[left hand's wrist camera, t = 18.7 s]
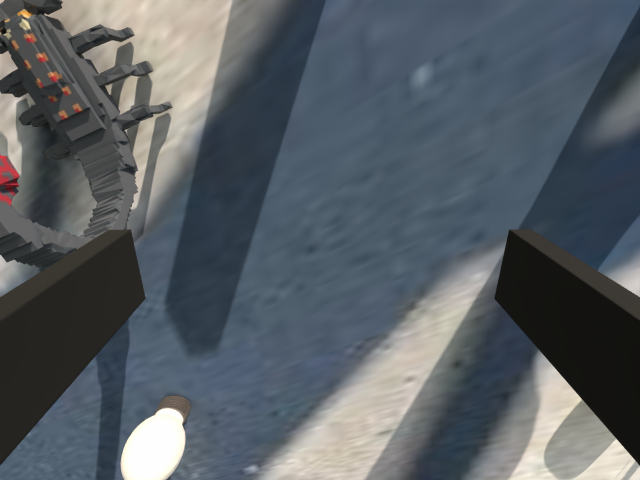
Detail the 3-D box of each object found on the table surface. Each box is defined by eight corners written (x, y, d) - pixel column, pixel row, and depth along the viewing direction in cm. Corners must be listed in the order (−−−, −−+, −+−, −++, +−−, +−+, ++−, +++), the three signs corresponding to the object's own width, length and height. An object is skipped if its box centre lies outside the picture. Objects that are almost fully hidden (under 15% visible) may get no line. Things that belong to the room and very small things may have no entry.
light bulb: (199, 389, 48) (167, 467, 38) (199, 425, 51) (169, 507, 40) (149, 384, 48) (103, 462, 38) (152, 420, 50) (109, 502, 40)
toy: (110, 234, 40) (-46, 337, 23) (-69, -34, 30) (-563, -201, 13) (216, 190, 38) (131, 266, 21) (58, -109, 29) (-327, -415, 12)
